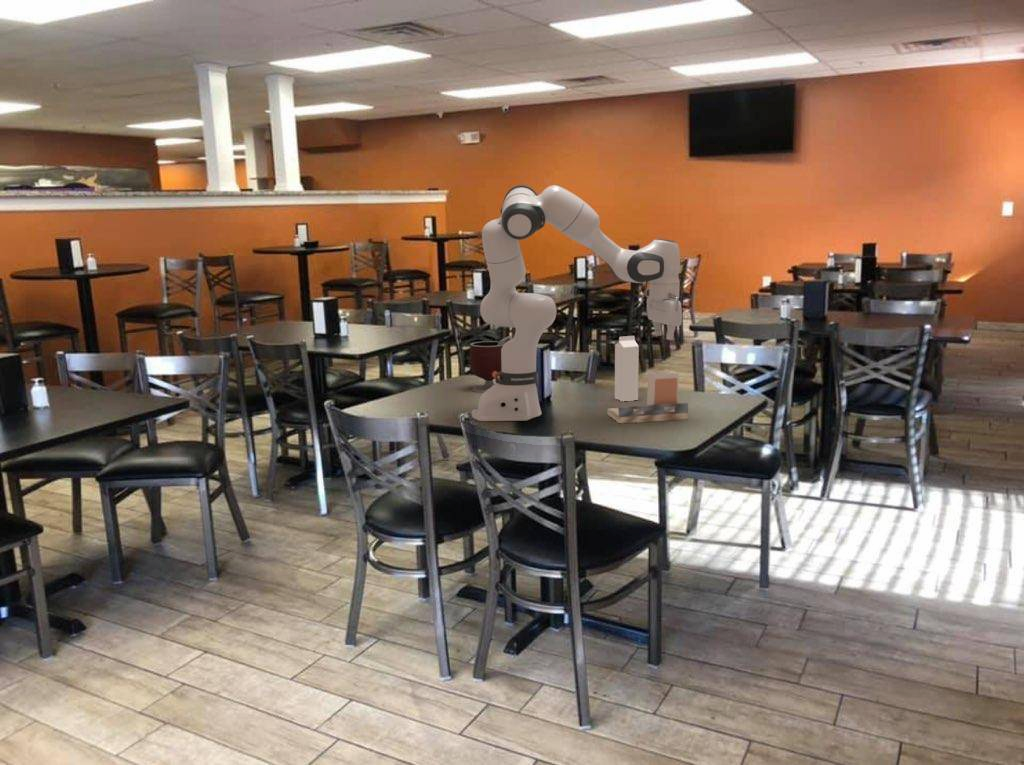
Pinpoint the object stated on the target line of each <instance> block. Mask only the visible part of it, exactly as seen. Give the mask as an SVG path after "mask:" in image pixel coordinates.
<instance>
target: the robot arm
mask: <svg viewBox="0 0 1024 765" xmlns="http://www.w3.org/2000/svg"><path fill="white" fill-rule="evenodd" d="M600 223H601V221H600V216H599V215H598V213H597V212H596V211H595V210H594V208H592V207H591V205H589V204H588V203H587V201H585V200H583V199H582V198H580V197H579V196H577V195H576V194H574V193H573V192H571V191H569V190H568V189H566V188H564V187H562V186H559V185H555V184H553V185H550V186H548V187H546V188H545V189H543V190H542V192H541V193H539V195H538V194H537V192H536V191H535V190H534V189H533V188H532V187H530V186H528V185H525V184H519V185H515V186H513V187H512V188H510V189H509V190H508V191H507V192H506V194H505V196H504V198H503V201H502V206H501V209H500V216H499V217H498V218H495V219H492V220H490V221H488V222H487V223H485V225H484V226H483V227H482V230H481V242H482V248H483V252H484V253H483V254H484V259H485V261H486V265H487V270H488V272H489V274H488V275H489V279H490V289H489V291H488V293H487V294H486V295H485V296H484V297H483V299H482V300H481V303H480V307H479V308H480V309H479V311H480V316H481V318H482V320H483V322H485V323H486V324H489V325H493V326H495V327H500V328H515V332H514V336H513V338H510V339H508V340H506V341H505V342H504V343H505V344H504V345H503V347H502V349H501V366H502V371H500V372H499V373H498V372H497V371H494V373H492V376H493V377H494V378H495V379H494V380H495V381H494V382H495V383H494V385H493V386H492V387H490V388H489V389H488V390H487V391H485V392H484V393H482V394H480V397H479V400H478V404H477V405H478V406H477V408H475V409H473V410H472V411H471V418H473V419H474V420H476V421H479V422H507V421H508V422H512V421H514V422H515V421H516V422H517V421H529V420H532V419H534V418H536V417H540V416H541V415H542V414H543V413H542V409H541V406H540V400H539V395H538V385H539V374H538V370H537V352H538V344H539V341H540V339H541V337H542V335H543V333H544V332H545V331H546V330H547V329H548V328H550V326H552V325H553V323H554V321H555V320H556V316H557V310H558V309H557V306H556V305H557V304H556V302H555V301H554V299H552V297H550V296H547V295H544V294H541V293H534V292H532V293H530V292H529V293H528V292H518V291H517V289H516V288H517V286H518V285H519V284H521V283H523V281H524V279H525V277H526V273H527V268H526V265H525V260H524V258H523V253H522V250H521V245H520V241H519V240H522V241H523V240H525V239H527V238H530V237H531V236H532V235H534V234H535V233H536V232H538V231H539V230H541V229H543V228H544V226H545V224H549V225H551V226H552V227H554V228H555V229H556V230H558V231H559V232H560V233H562V234H563V235H564V236H566V237H567V238H569V239H571V240H572V241H575V242H576V243H578V244H580V245H582V246H583V247H585V248H587V249H588V250H590V251H591V252H592V253H593V254H595V255H596V256H597V257H599V258H600V259H601V260H602V261H604V263H606V265H607V266H608V268H609V270H610V271H611V274H612V275H613V277H614V279H617V280H618V281H620V282H623V283H628V282H629V283H634V284H635V283H636V284H643V283H646V282H649V283H650V286H649V287H648V288H647V289H645V297H646V314H647V315H646V316H647V319H648V320H650V321H653V322H652V323H653V328H654V335H655V336H656V337H659V336H662V335H663V330H662V328H661V327H662V326H661V325H662V324H663V325H667V326H666V328H667V332H666V334H665V338H666V340H668V341H671V340H672V341H673V339H674V333H675V331H676V327H680V326H681V325H682V322H683V310H682V303H681V300H680V278H679V273H680V269H681V256H680V247H679V244H678V243H677V242H676V241H674V240H671V239H663V238H655V239H653V240H652V242H650V243H648V244H647V245H646V246H643V247H641V248H638V249H637V250H633V249H629V248H623V247H621V246H619V245H617V244H616V242H614V241H613V240H612V239H611V238H609V237H608V236H607V235H605V234H604V233H603V231H602V230H601V228H600Z"/></svg>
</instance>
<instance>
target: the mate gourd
mask: <svg viewBox="0 0 1024 765" xmlns="http://www.w3.org/2000/svg"><path fill="white" fill-rule="evenodd" d="M510 339H513V338H512V335H509V336H506V337H504V338H502V339H501V340H499V341H496V340H494V341H493V340H492V341H491V340H489V341H488V340H487V341H486V340H485V341H475V342H472V343H470V349H469V365H470V369H471V372H472V373H473V374H474V375H475V377H478V378H480V379H483V380H484V384H482V385H476V386H474V387H472V391H473V392H475V393H482V394H483V393H484V392H485V391H487V390H488V389H489V388H490V387H492V386H493V385H494V384H495V383H494V380H495V378H494V377H493V376H492V373H494V371H497V372H498V373H499V372H500V371H502V366H501V349H502V347H503V345H504V344H505V343H506V342H507V341H508V340H510Z"/></svg>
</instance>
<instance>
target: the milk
mask: <svg viewBox="0 0 1024 765" xmlns="http://www.w3.org/2000/svg"><path fill="white" fill-rule="evenodd" d="M614 346H615V347H614V399H615V400H617V399H618V400H617V401H619V400H620V402H622V401H623V402H622V403H625V402H624V401H628V402H635V401H634V400H639V357H640V356H639V355H640V353H639V352H640V349H639V348H640V346H639V344H638V343H637V342H636V337H635V335H627V336H624V335H623V336H619V338H618V342H617V343H615V344H614Z"/></svg>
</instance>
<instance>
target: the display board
mask: <svg viewBox="0 0 1024 765" xmlns="http://www.w3.org/2000/svg"><path fill="white" fill-rule="evenodd" d="M688 408H689V404H688V402H680V403H679V402H678V403H674V404H658V405H647V404H644V405H643V404H642V405H627V406H626V405H625V406H618V407H615V408H607V416H609V418H611V417H612V418H611V419H613V421H615V420H616V421H615V422H617V423H618V424H619V423H621V424H632V423H633V424H634V423H635V422H636V423H648V422H651V423H653V422H662V421H663V422H665V421H679V420H680V421H681V420H688V418H689V417H688V410H689V409H688ZM636 423H635V424H636Z"/></svg>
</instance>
